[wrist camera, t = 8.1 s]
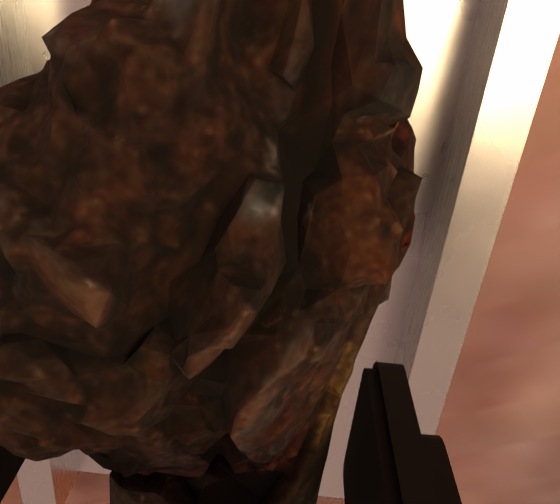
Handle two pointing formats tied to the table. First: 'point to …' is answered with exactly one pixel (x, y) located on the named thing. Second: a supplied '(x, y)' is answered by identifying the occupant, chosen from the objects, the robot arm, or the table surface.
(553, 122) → the table surface
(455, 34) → the cradle
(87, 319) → the brown knobbed club
